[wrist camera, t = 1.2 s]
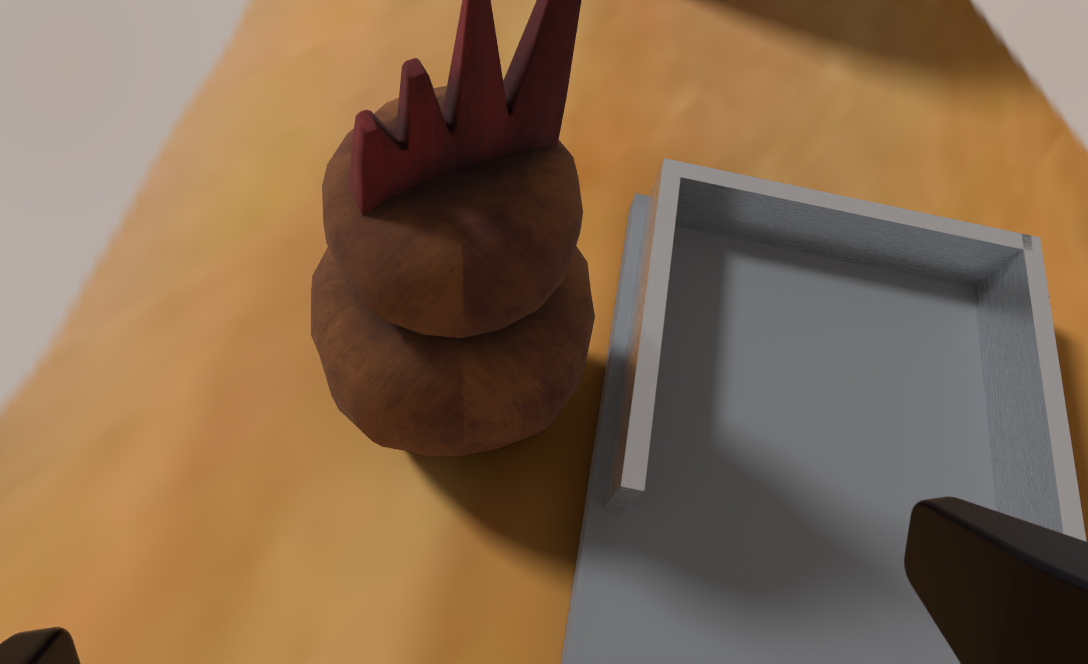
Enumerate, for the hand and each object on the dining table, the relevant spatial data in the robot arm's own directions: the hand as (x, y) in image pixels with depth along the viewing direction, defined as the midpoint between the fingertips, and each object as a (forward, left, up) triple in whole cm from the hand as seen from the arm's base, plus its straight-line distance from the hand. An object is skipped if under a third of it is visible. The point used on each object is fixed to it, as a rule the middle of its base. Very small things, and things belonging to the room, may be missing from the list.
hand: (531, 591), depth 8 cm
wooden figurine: (+7, +2, -13) cm, 15 cm away
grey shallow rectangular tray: (+7, -9, -13) cm, 17 cm away
